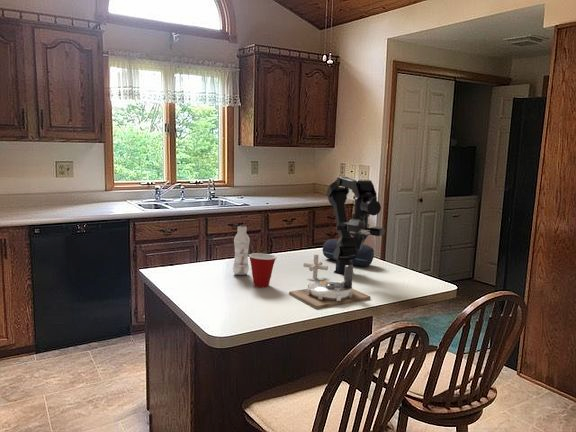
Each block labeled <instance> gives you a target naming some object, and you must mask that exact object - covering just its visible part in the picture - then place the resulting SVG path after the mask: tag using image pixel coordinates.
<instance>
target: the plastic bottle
mask: <svg viewBox="0 0 576 432" xmlns="http://www.w3.org/2000/svg"><path fill="white" fill-rule="evenodd" d="M247 229H248V228H247V226H246V225H239V226H237V232H236V234H235V236H234V238H233V242H234V243H233V245H234V260H233V266H232V273H233V274H234V275H235V276H236V275H237V276H245V275H247V274H248V273H249V270H250V269H249V267H250V266H249V258H248V257H249V246H250V240H251V239H250V236H249V235H248V234H247V231H248V230H247Z"/></svg>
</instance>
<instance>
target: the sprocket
mask: <svg viewBox="0 0 576 432" xmlns="http://www.w3.org/2000/svg"><path fill="white" fill-rule="evenodd" d="M343 275H344V279H343V281H344V284H341V282H340V281H339V282H338V281H337V282H336V281H335V282H334V281H325V280H323V281H321V280H320V281H317V282H316V281H315V282H313V283H312V282H311V283H308V284H307V288H306V289H307V294H308V295H311V296H313V297H315V298H318V299H320V300H336V301H341V300H344V299H348V298H352V295H353V292H352V289H353V278H354V277H353V275H354V264H353V265H345V273H344V274H343Z"/></svg>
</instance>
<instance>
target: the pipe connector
mask: <svg viewBox="0 0 576 432" xmlns="http://www.w3.org/2000/svg"><path fill="white" fill-rule="evenodd" d="M303 268H308V270H309V271H310V272H312V279H313V280H317V279H318V271H319V270H320V271H321V270H323V271H328V269H329V267H328V265H323V262H322V261H319V254H318V253H314V254H313V263H311V262H303Z"/></svg>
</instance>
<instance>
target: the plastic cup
mask: <svg viewBox="0 0 576 432" xmlns="http://www.w3.org/2000/svg"><path fill="white" fill-rule="evenodd" d="M248 257H249V260H250V267H251V275H252V276H251V277H252V282H253V286H254V287H257V288H267V287H269V285H270V282H271V278H272V273H273V269H274V264H275V261H276V259H277V256H276V255H274V254H270V253H259V252H258V253H257V252H256V253H255V252H254V253H250V254H249V253H248Z"/></svg>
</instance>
